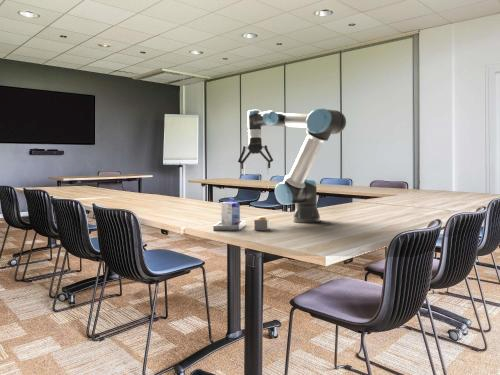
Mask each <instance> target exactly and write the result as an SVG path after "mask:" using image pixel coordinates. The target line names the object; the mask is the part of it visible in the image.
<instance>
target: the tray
mask: <svg viewBox="0 0 500 375" xmlns="http://www.w3.org/2000/svg"><path fill="white" fill-rule="evenodd" d="M246 225H247V224H246V220H240V223H239V224H238V225H221V221H218V222H217V223H215V224H213V226H212V227H213V228H212V229H213V231H240V230H242V227H243V228H244V227H246Z"/></svg>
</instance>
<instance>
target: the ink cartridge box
mask: <svg viewBox="0 0 500 375" xmlns="http://www.w3.org/2000/svg"><path fill="white" fill-rule="evenodd" d="M234 201H235V197H229V200H228V201H223V202H221V204H220V206H221V208H220V210H221V212H220V213H221V215H220V216H221V218H220V220H221V225H238V224H239V223H240V221H241V210H240V209H241V208H240V204H241V203H240V202H234Z"/></svg>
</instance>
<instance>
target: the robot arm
mask: <svg viewBox="0 0 500 375" xmlns="http://www.w3.org/2000/svg"><path fill="white" fill-rule="evenodd" d="M346 125H347V119H346V117H345V115H344V113H342V112H341V111H339V110H335V109H334V110H332V109H327V108H317V109H316V108H315V109H313V110H311V111H310V113H286V112H285V113H284V112H276V111H274V110H267V111H261V110H259V109H251V110H248V111H247V129H248V130H247V132H248V134H247V136H248V142H247V143H248V146H242V152H241V154H240V156H239V158H238V160H237V162H238V163H240V164H241V165H240V169H242V171H243V172H242V173H243V176H245V175H246V163H245V162H246V161H247V159H248V158H249V157H250V155H251V154H252V155H255V154H257V155H258V154H260V155H261V156H262V158H264V159H265V161H266V175H269V174H270V173H269V172H270V171H269V169H271V163H272V162H274V159H273V157H272V155H271V153H270V151H269V149H268V146H267V145H262V144H263V143H262V127H266V126H268V127H269V126H270V127H273V126H274V127H283V128H298V129H299V128H300V129H306V130H305V131H306V134H307V135H306V137H305V140H304V142H303V144H302V146H301V148H300V150H299V153H298V155H297V157H296V159H295V162H294V163H293V165H292V167H291V170H290V172H289V174H287V175H285V176H284V178H283V181H282V182H279V183H277V184H276V186H275V187H274V195H275V199H276V201H277V202H278V203H279V204H281V205H284V206H285V205H287V206H288V205H295V209H294V211H293V216H292V222H295V223H302V224H303V223H304V224H305V223H306V224H307V223H309V224H310V223H317V222H318V223H319V222H320V221H321V215H320V212H319V210H318V202H317V195H318V194H317V182H316V180H314V179H309V178H308V179H306V178H307V176H308V175H309V173H310V170H311V169H312V166H313V164H314V162H315V161H316V159H317V156H318V154H319V153H320V152H319V151H320V150H321V148H322V146H323V144H324V143H325V142H327V141H328V140H329V138H330V136H331V135H336V134H340V133H341V132H342V131H343V130H344V129H345V128H346ZM247 150H248V152H247V154H246V155H245V153H246V151H247ZM262 150H264V151H265V152H266V154H267V156H266V155H265V154H264V152H263V151H262ZM244 155H245V157H244Z"/></svg>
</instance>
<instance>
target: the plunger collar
mask: <svg viewBox="0 0 500 375" xmlns="http://www.w3.org/2000/svg"><path fill="white" fill-rule="evenodd" d="M253 223H254V231H269V229H270V218H269V217H268V218H267V217H265V220H258V217H257V218H255V219H254V221H253Z"/></svg>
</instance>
